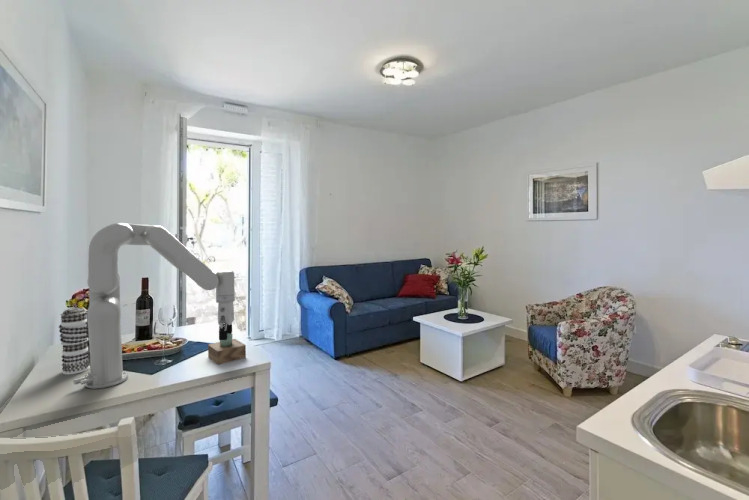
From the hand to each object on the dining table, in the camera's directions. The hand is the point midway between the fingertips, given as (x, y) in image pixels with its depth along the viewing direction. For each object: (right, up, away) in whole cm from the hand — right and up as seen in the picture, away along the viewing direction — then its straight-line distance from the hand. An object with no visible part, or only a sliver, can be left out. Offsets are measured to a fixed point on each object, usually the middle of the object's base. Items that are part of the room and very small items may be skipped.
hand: (225, 336), depth 154 cm
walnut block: (0, -10, +1) cm, 10 cm away
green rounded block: (0, -4, 0) cm, 4 cm away
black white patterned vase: (-55, -10, -14) cm, 57 cm away
